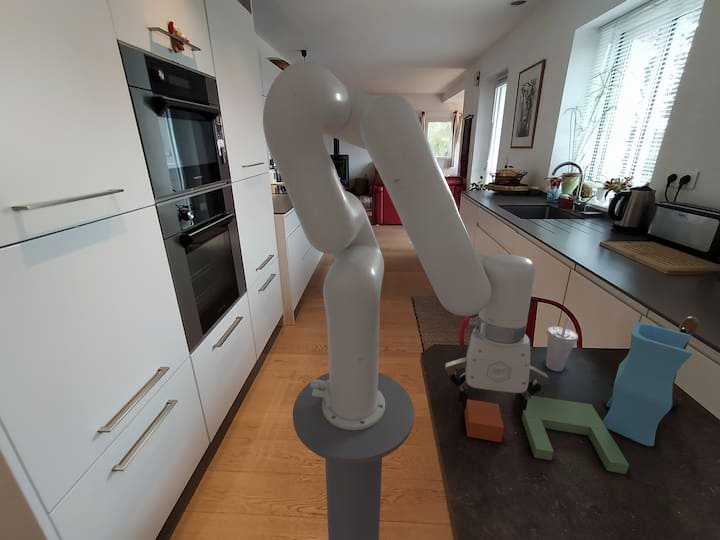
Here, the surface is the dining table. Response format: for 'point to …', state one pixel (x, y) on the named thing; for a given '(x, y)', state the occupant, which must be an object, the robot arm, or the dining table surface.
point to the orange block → (483, 420)
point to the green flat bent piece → (569, 429)
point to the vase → (646, 382)
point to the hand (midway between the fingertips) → (490, 407)
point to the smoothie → (559, 346)
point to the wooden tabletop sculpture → (687, 327)
